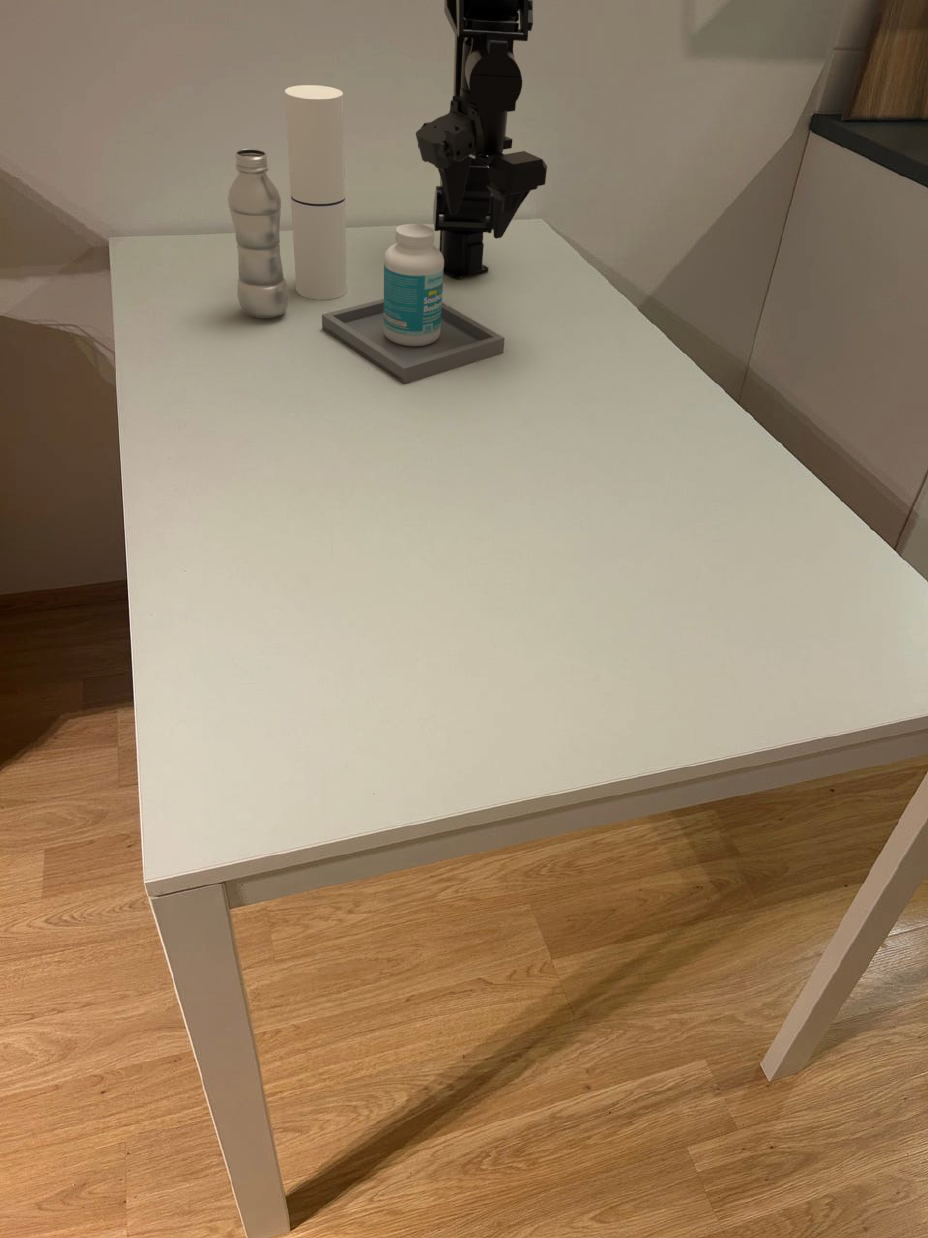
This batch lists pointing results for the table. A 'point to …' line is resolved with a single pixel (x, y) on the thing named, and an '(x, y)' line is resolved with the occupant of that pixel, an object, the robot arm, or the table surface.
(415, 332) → the pill bottle
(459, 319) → the tray
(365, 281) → the table surface
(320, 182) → the cylindrical container
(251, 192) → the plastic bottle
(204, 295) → the table surface
